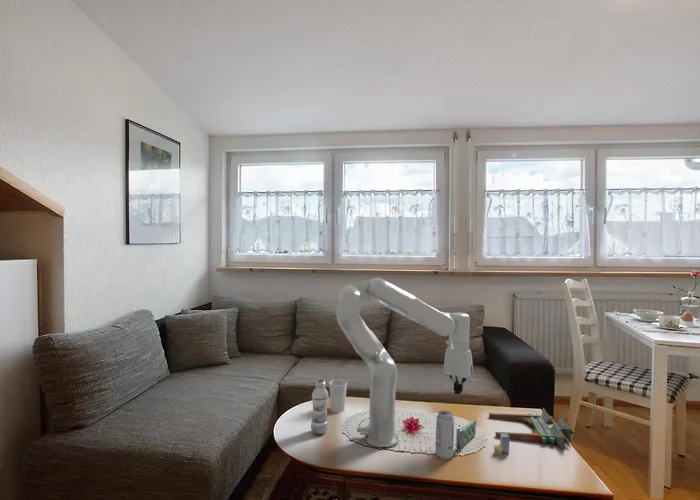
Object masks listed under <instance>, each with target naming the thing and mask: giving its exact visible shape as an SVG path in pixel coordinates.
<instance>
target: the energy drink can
mask: <svg viewBox="0 0 700 500" xmlns="http://www.w3.org/2000/svg"><path fill="white" fill-rule="evenodd" d="M435 423H436V424H435V425H436V429H435V431H436V432H435V454H436V456H437V458H439V457H440V458H439V459H441V458H442V459H441V460H445V459H448V460H450V459H452V457H453V456H454V437H455V418H454V415H453V413H452V412H451V411H449V410H439V411H438V414H437V415H436V422H435Z"/></svg>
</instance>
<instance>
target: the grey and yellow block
mask: <svg viewBox="0 0 700 500" xmlns="http://www.w3.org/2000/svg"><path fill="white" fill-rule="evenodd" d="M499 439H500V440H499V441H500V442H499V444H495V443H494V444H493V454H494V455H500V456H501V455H503V454H504V455H505V454H506V455H510V439H509V436H508V434H500V438H499Z"/></svg>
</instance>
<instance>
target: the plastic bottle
mask: <svg viewBox="0 0 700 500" xmlns="http://www.w3.org/2000/svg"><path fill="white" fill-rule="evenodd" d="M329 398H330V393H329V391H328V390H327V388H326V380H325V379H316V381H315V388H314V389H313V391H312V394H311V399H312V415H311V416H312V418H311V419H312V420H311V422H310V423H311V424H310V429H311V432H312V433H313V434H315V435H323V434H325V433H326V432H327V431H328V427H329V423H328V412H327V410H328V402H329Z"/></svg>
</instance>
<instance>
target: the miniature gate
mask: <svg viewBox="0 0 700 500" xmlns="http://www.w3.org/2000/svg"><path fill="white" fill-rule="evenodd" d="M488 417H489V419H494V420H503V421H516V422H517V421H519V422H520V421H521V422H527V423H529V425H532V427H533V432H531V433H527V432H507V431H504V432H502V431H495V432H494V433H495V438H496V439H500V434H508V436H509V440H514V441H526V442H527V441H528V442H531V441H532V442H542V443H548V442H549V443H552V444H555V442H556V444H557V445H558V446H559V448H560V449H561V450H562V451H565V450H566V448H565V445H566V442H568V443H570V444H571V443H572V434H575V435H576V434H577V432H576V431H574V430H573V429H572V428H571V426H570V423H566V421H565V420H563V418H562V416H561V415H560V414H558V416H557V422H555V420H554V417H553V415H550V414H549V413H548V412H547V411H546V409H545V407H542V410H541V415H540V414H538V413H536V414H532V413H528V414H526V413H525V414H524V413H523V414H522V413H521V414H519V413H494V412H492V413H491V412H489V413H488Z"/></svg>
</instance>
